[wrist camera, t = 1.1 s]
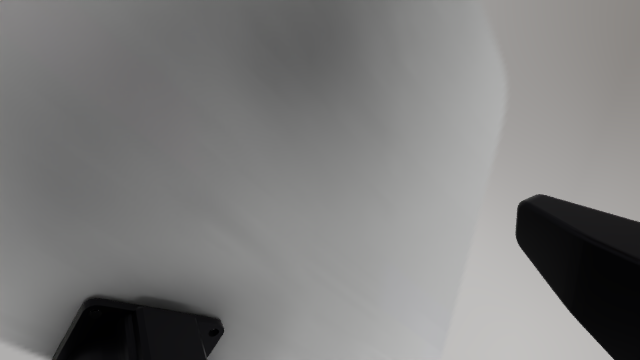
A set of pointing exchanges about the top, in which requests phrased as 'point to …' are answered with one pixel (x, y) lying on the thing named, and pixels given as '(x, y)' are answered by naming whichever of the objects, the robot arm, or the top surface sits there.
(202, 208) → the top surface
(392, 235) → the top surface
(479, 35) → the top surface
